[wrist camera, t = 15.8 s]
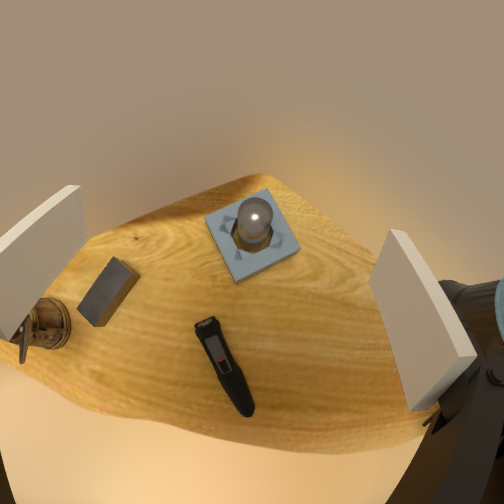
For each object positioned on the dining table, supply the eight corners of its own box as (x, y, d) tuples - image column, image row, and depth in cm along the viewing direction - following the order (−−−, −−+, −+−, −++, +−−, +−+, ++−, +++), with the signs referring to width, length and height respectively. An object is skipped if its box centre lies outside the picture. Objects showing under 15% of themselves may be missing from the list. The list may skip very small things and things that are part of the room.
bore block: (295, 254, 45) (300, 248, 41) (236, 284, 44) (235, 281, 40) (264, 198, 47) (267, 188, 43) (206, 225, 46) (203, 217, 42)
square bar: (105, 326, 42) (94, 326, 38) (88, 309, 42) (76, 308, 38) (140, 276, 44) (132, 273, 40) (123, 261, 44) (113, 256, 40)
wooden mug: (87, 367, 40) (19, 386, 23) (29, 338, 40) (-42, 339, 23) (97, 315, 42) (28, 311, 24) (37, 290, 42) (-34, 275, 25)
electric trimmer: (236, 415, 40) (237, 422, 37) (192, 324, 43) (189, 325, 40) (259, 406, 41) (261, 412, 38) (216, 314, 43) (214, 314, 40)
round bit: (269, 245, 45) (279, 221, 34) (245, 257, 45) (247, 236, 33) (256, 222, 46) (262, 191, 34) (233, 234, 46) (231, 206, 34)
